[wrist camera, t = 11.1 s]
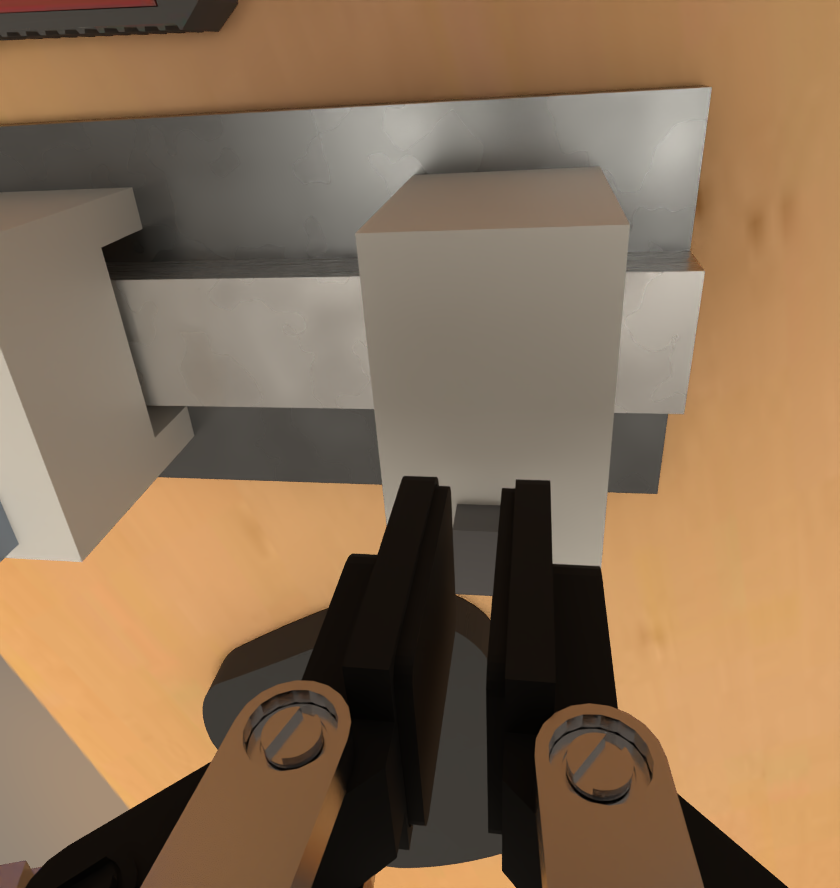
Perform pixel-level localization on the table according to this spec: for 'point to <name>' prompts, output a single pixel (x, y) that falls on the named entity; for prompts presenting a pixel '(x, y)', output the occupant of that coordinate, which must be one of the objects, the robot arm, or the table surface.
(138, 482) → the mounted module
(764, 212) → the table surface
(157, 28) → the walkie-talkie
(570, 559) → the block
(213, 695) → the media streaming box
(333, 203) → the rail plate
